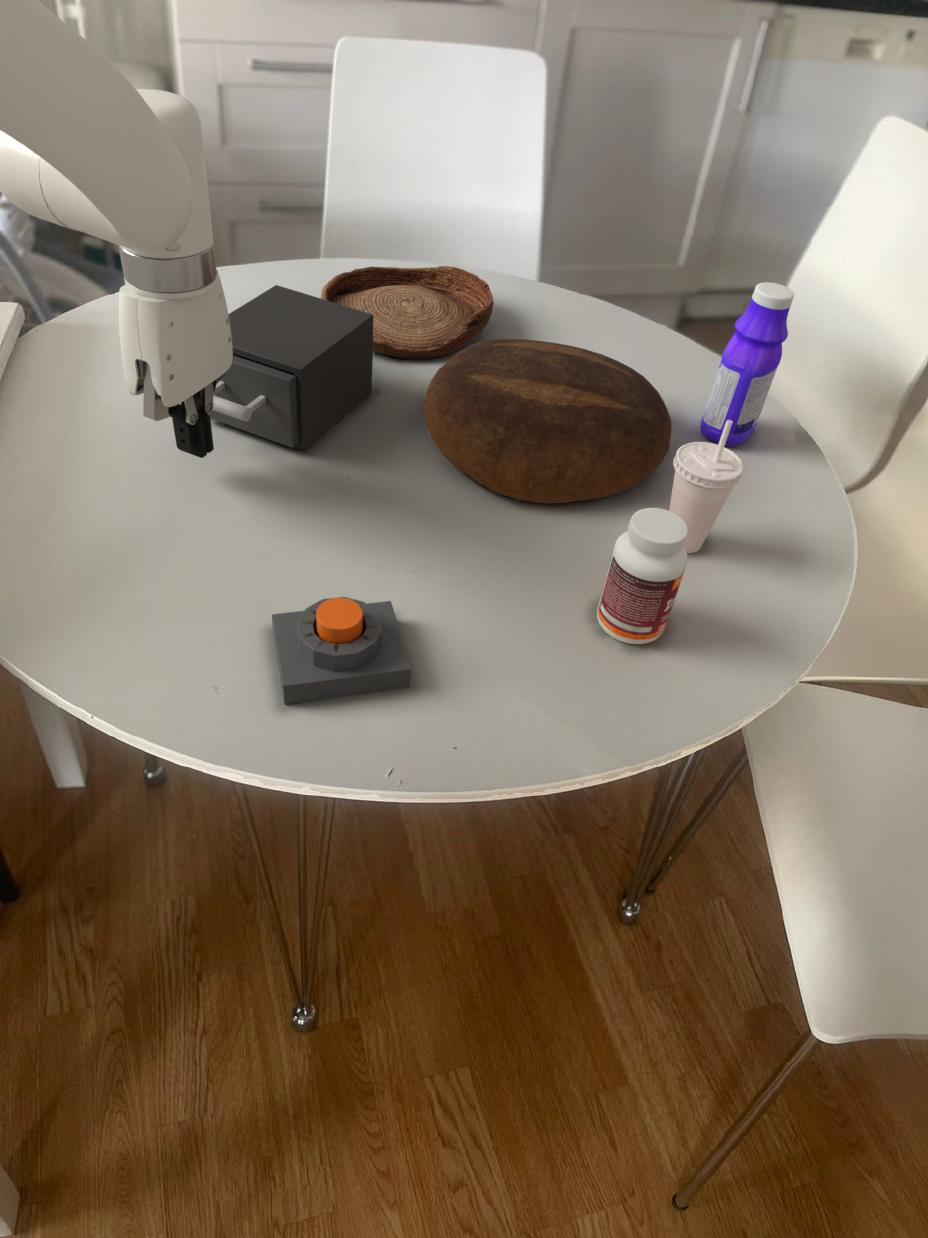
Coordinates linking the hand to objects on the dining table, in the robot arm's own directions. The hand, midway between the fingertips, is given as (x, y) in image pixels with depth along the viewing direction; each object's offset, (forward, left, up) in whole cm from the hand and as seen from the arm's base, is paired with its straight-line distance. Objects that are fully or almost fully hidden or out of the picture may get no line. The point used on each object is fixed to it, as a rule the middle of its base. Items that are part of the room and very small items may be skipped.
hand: (195, 449), depth 86 cm
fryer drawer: (+8, +10, -3) cm, 13 cm away
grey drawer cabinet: (+11, +13, -3) cm, 17 cm away
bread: (+38, +3, -4) cm, 38 cm away
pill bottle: (+36, -27, -4) cm, 45 cm away
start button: (+10, -27, 0) cm, 29 cm away
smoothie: (+46, -17, -4) cm, 49 cm away
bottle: (+60, +1, -4) cm, 60 cm away
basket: (+28, +31, -4) cm, 42 cm away
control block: (+10, -27, -3) cm, 29 cm away
